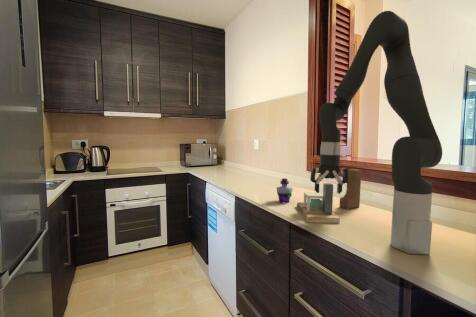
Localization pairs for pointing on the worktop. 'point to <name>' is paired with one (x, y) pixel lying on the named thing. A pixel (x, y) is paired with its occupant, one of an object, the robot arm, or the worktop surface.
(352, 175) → the wooden block
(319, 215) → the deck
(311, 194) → the cream open box
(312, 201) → the block
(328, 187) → the grey angular piece
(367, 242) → the worktop surface
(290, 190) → the potion bottle
